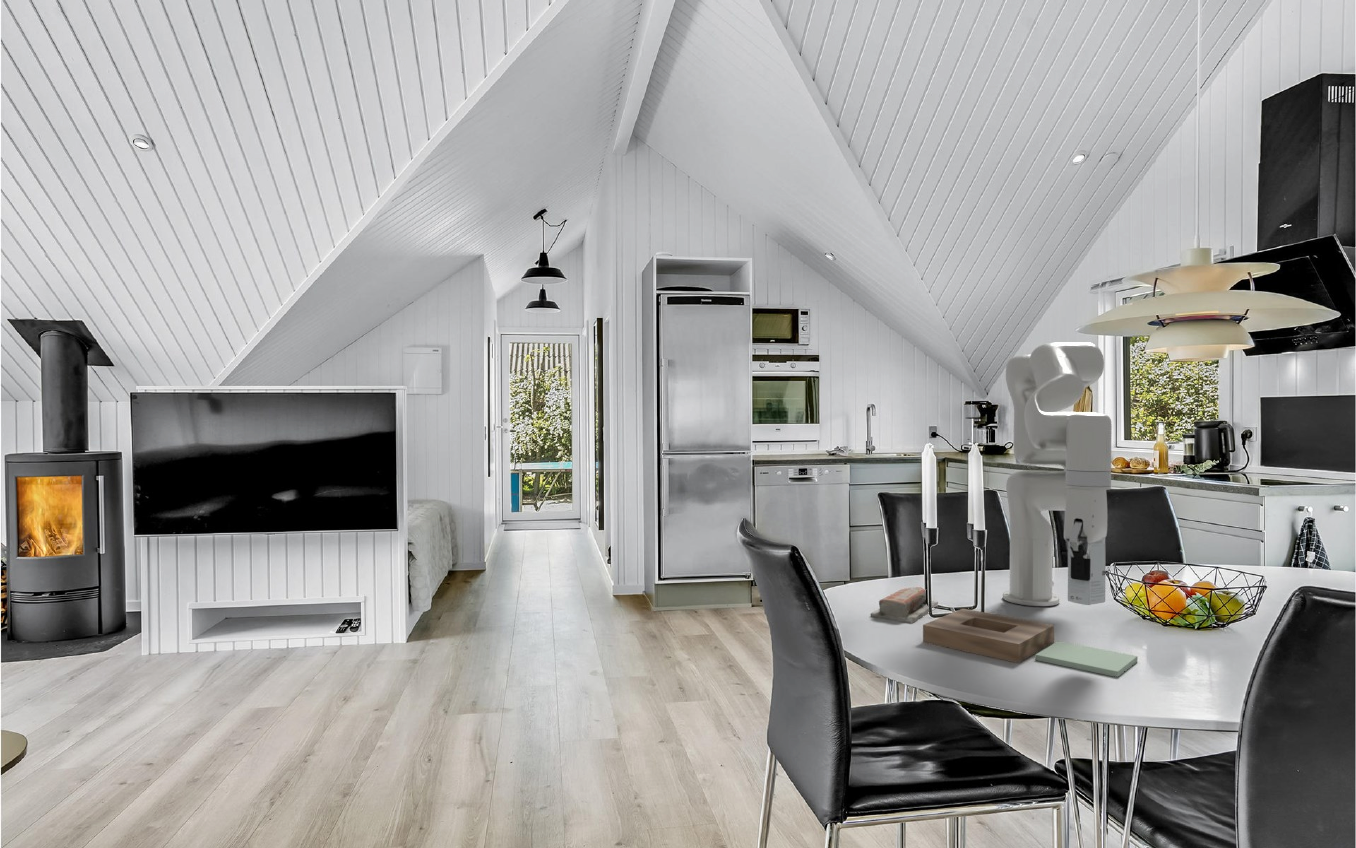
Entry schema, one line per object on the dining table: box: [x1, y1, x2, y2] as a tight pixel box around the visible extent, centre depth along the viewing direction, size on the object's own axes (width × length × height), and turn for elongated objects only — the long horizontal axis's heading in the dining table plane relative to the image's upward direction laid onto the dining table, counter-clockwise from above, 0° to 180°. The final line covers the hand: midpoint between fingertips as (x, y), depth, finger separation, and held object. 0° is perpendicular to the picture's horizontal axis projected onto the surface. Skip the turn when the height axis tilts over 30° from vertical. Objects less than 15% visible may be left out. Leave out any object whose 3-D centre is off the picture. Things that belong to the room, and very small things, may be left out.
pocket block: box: [922, 608, 1055, 664], centre depth 162 cm, size 18×19×4 cm
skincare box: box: [1067, 537, 1106, 606], centre depth 150 cm, size 6×4×12 cm
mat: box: [1034, 640, 1139, 678], centre depth 150 cm, size 12×14×1 cm
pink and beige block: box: [869, 587, 939, 624], centre depth 187 cm, size 18×5×10 cm
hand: (1087, 575), depth 150 cm, fingers closed on skincare box, 6 cm apart
